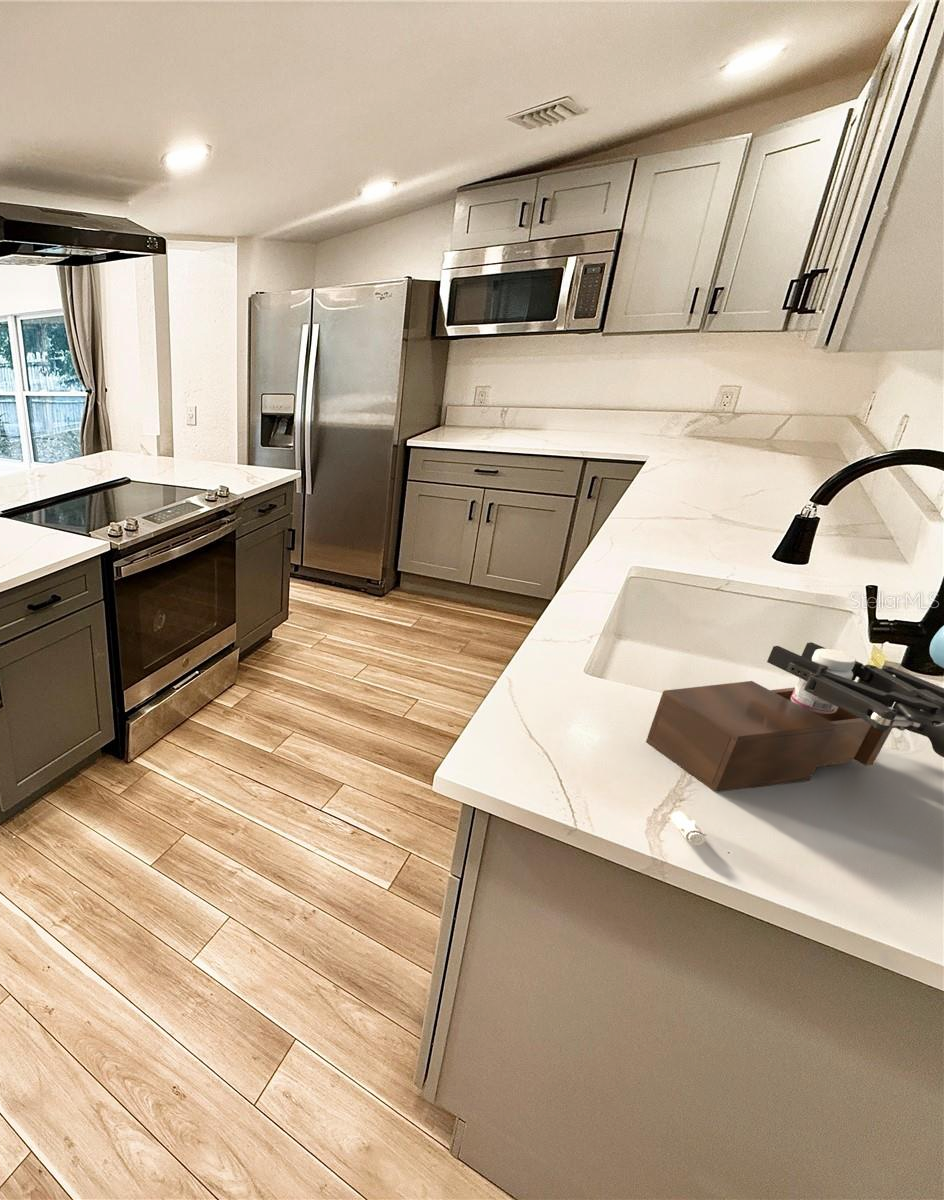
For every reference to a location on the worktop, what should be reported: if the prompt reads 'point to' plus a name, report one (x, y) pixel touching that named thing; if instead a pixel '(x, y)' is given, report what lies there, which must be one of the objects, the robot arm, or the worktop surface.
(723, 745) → the cabinet
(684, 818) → the small white plastic part
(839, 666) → the pill bottle
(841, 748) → the drawer
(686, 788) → the worktop surface
